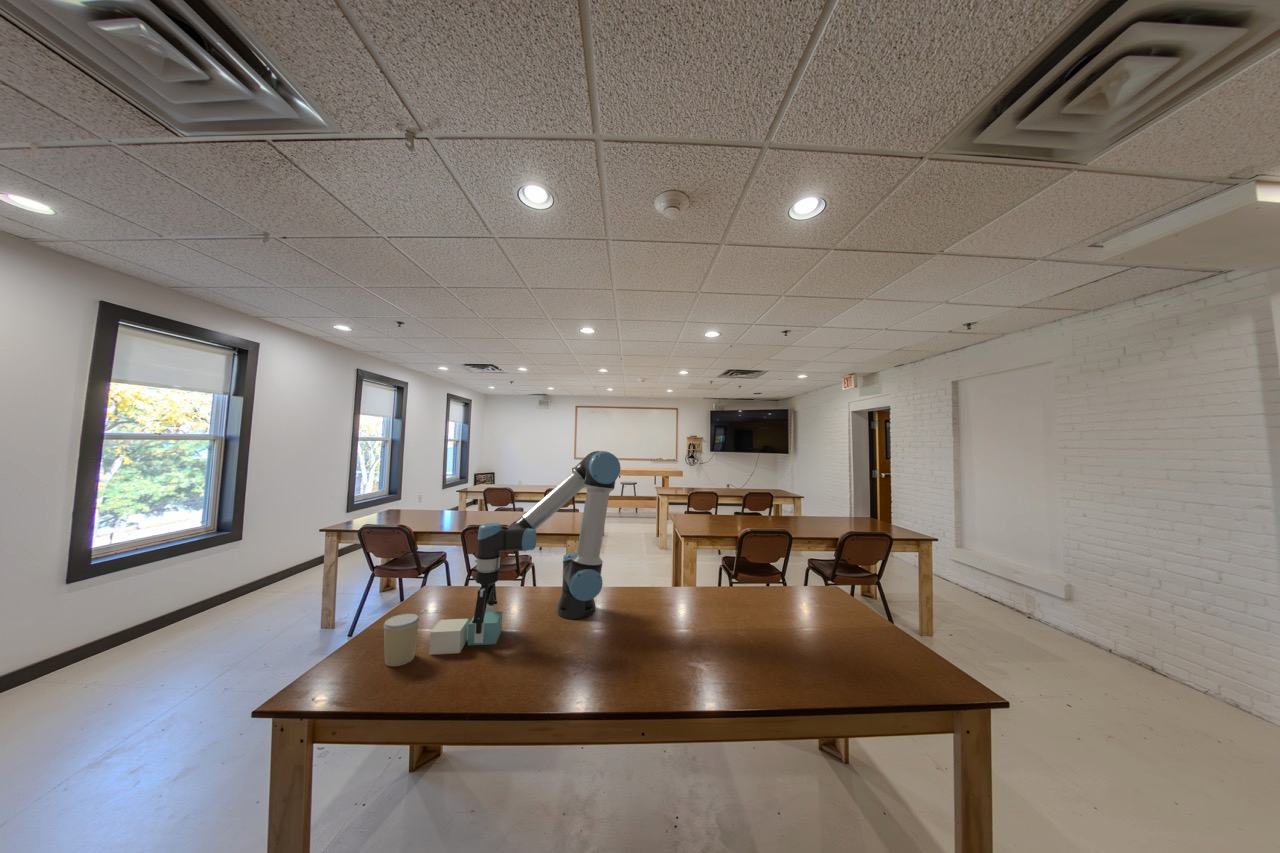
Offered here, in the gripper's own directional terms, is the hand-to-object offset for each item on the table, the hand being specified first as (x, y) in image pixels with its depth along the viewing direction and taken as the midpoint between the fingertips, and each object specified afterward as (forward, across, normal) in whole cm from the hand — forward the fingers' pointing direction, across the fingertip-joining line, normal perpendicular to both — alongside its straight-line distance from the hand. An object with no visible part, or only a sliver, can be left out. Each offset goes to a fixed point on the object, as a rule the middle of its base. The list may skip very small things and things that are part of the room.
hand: (484, 632), depth 135 cm
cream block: (+2, +5, -10) cm, 11 cm away
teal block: (+2, 0, 0) cm, 2 cm away
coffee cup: (+2, +12, -22) cm, 25 cm away
